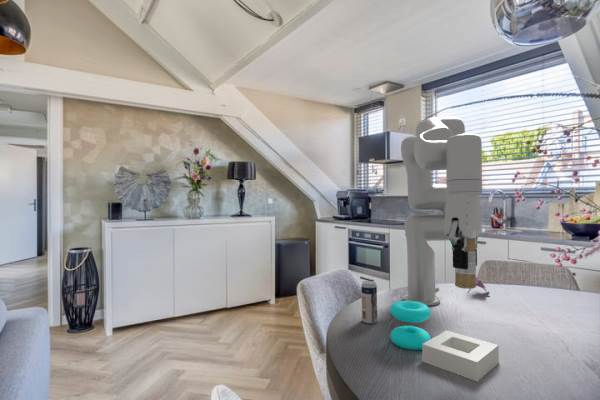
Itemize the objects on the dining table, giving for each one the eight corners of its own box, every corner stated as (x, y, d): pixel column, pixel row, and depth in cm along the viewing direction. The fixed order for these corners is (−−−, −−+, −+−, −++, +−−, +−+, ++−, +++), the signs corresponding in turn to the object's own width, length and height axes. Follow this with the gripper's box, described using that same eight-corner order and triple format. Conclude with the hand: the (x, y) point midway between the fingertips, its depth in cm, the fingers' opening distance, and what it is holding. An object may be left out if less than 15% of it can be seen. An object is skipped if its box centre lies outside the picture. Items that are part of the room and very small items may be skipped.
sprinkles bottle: (451, 284, 82) (450, 228, 82) (470, 284, 82) (469, 228, 82) (460, 289, 77) (459, 230, 77) (480, 289, 77) (479, 229, 77)
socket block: (446, 346, 87) (446, 330, 87) (498, 362, 78) (498, 345, 78) (422, 361, 79) (422, 344, 79) (477, 381, 70) (477, 362, 70)
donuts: (438, 305, 87) (414, 313, 82) (439, 345, 87) (415, 355, 82) (406, 297, 96) (382, 303, 90) (406, 333, 96) (382, 342, 90)
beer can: (377, 325, 102) (377, 284, 102) (361, 324, 103) (360, 284, 103) (377, 319, 106) (376, 281, 106) (361, 318, 107) (361, 280, 107)
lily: (481, 302, 126) (495, 280, 125) (452, 284, 134) (465, 263, 134) (489, 305, 134) (502, 284, 134) (462, 288, 143) (474, 268, 142)
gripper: (462, 189, 88) (463, 260, 88) (431, 188, 77) (432, 269, 77) (494, 188, 83) (495, 264, 82) (465, 187, 71) (467, 274, 71)
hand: (465, 266), depth 80 cm, fingers closed on sprinkles bottle, 4 cm apart
